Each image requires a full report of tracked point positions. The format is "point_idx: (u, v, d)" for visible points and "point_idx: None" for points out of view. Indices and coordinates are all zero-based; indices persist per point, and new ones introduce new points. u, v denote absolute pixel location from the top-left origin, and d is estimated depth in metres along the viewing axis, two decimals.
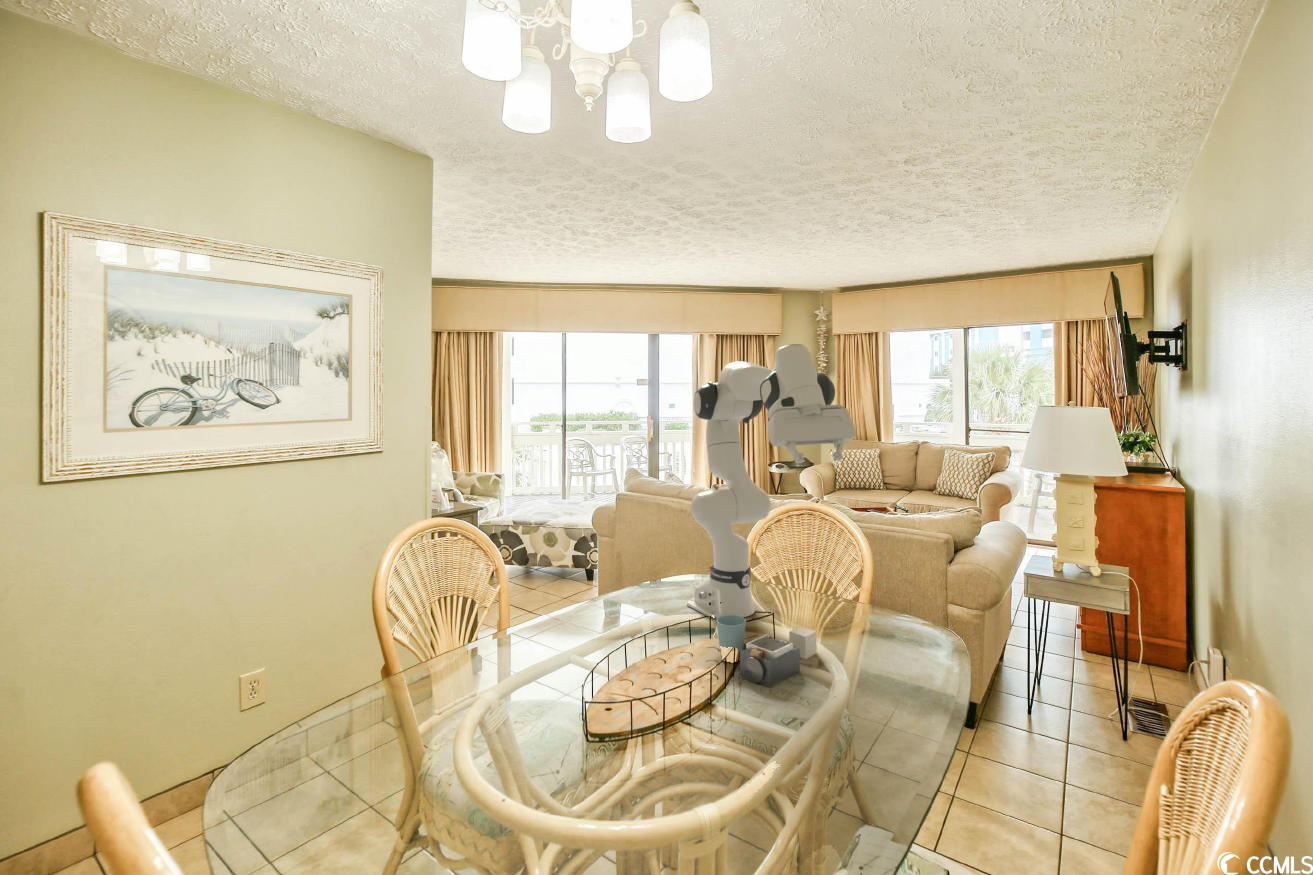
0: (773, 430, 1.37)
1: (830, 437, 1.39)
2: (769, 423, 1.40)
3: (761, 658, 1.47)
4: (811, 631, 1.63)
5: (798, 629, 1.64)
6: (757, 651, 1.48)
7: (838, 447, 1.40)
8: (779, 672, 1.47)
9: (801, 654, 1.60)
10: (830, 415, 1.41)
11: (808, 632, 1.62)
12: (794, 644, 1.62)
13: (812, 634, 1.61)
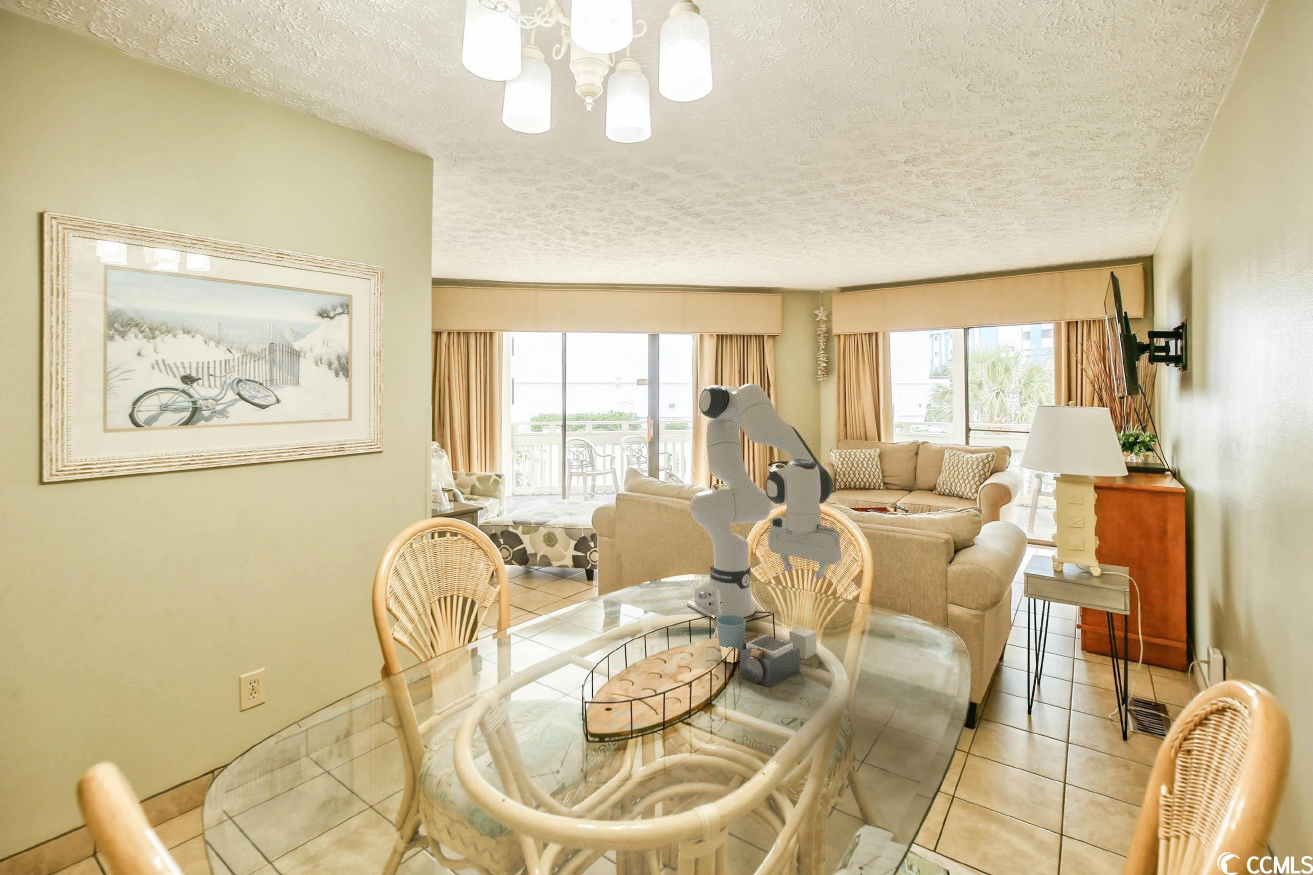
0: None
1: (810, 559, 1.57)
2: None
3: (761, 658, 1.47)
4: (811, 631, 1.62)
5: (799, 629, 1.64)
6: (757, 651, 1.48)
7: None
8: (779, 672, 1.47)
9: (801, 654, 1.60)
10: (815, 539, 1.56)
11: (808, 632, 1.62)
12: (794, 644, 1.62)
13: (812, 634, 1.61)
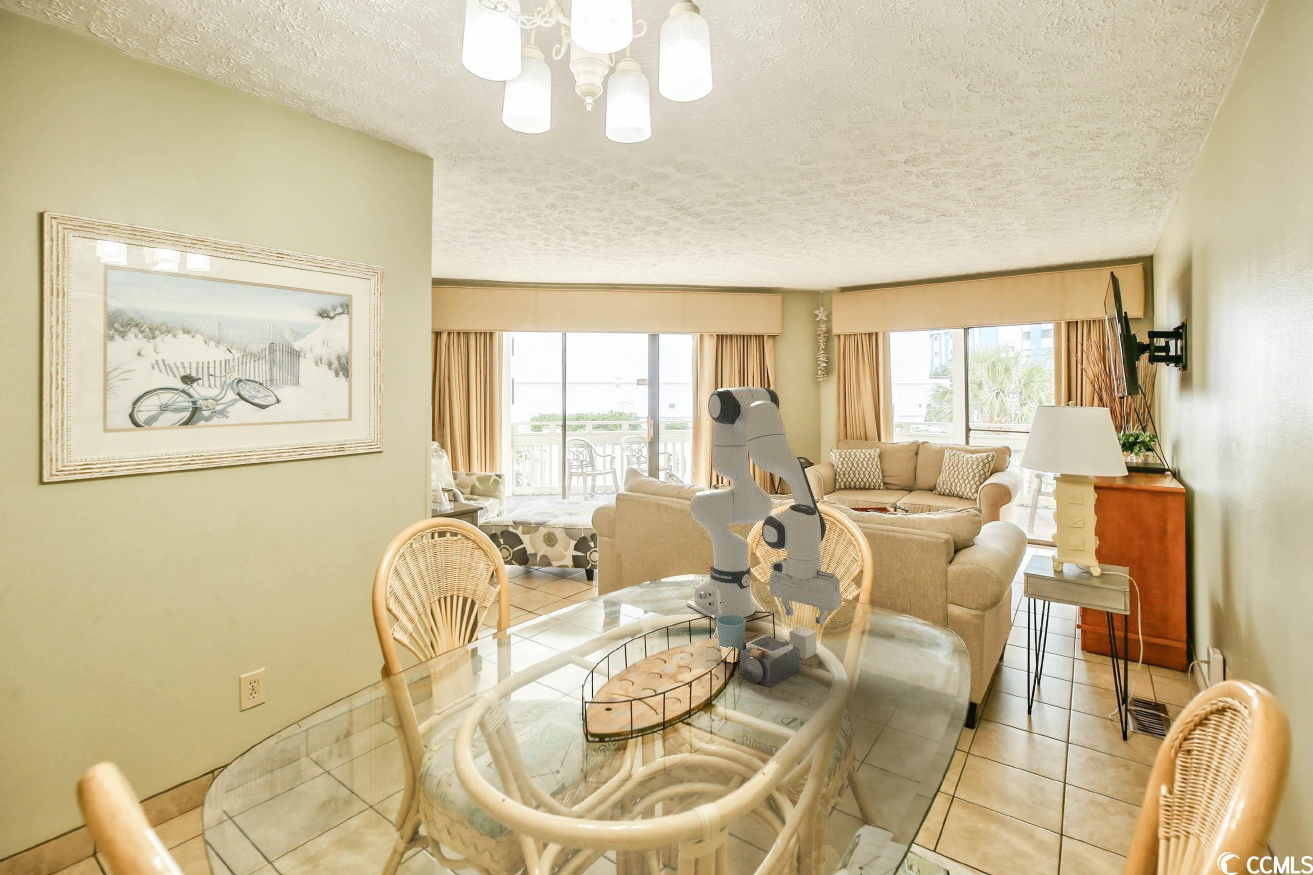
0: None
1: (811, 605, 1.58)
2: None
3: (761, 658, 1.47)
4: (811, 631, 1.62)
5: (798, 629, 1.64)
6: (757, 651, 1.48)
7: None
8: (779, 672, 1.47)
9: (801, 654, 1.60)
10: (815, 585, 1.57)
11: (808, 632, 1.62)
12: (794, 644, 1.62)
13: (812, 634, 1.61)
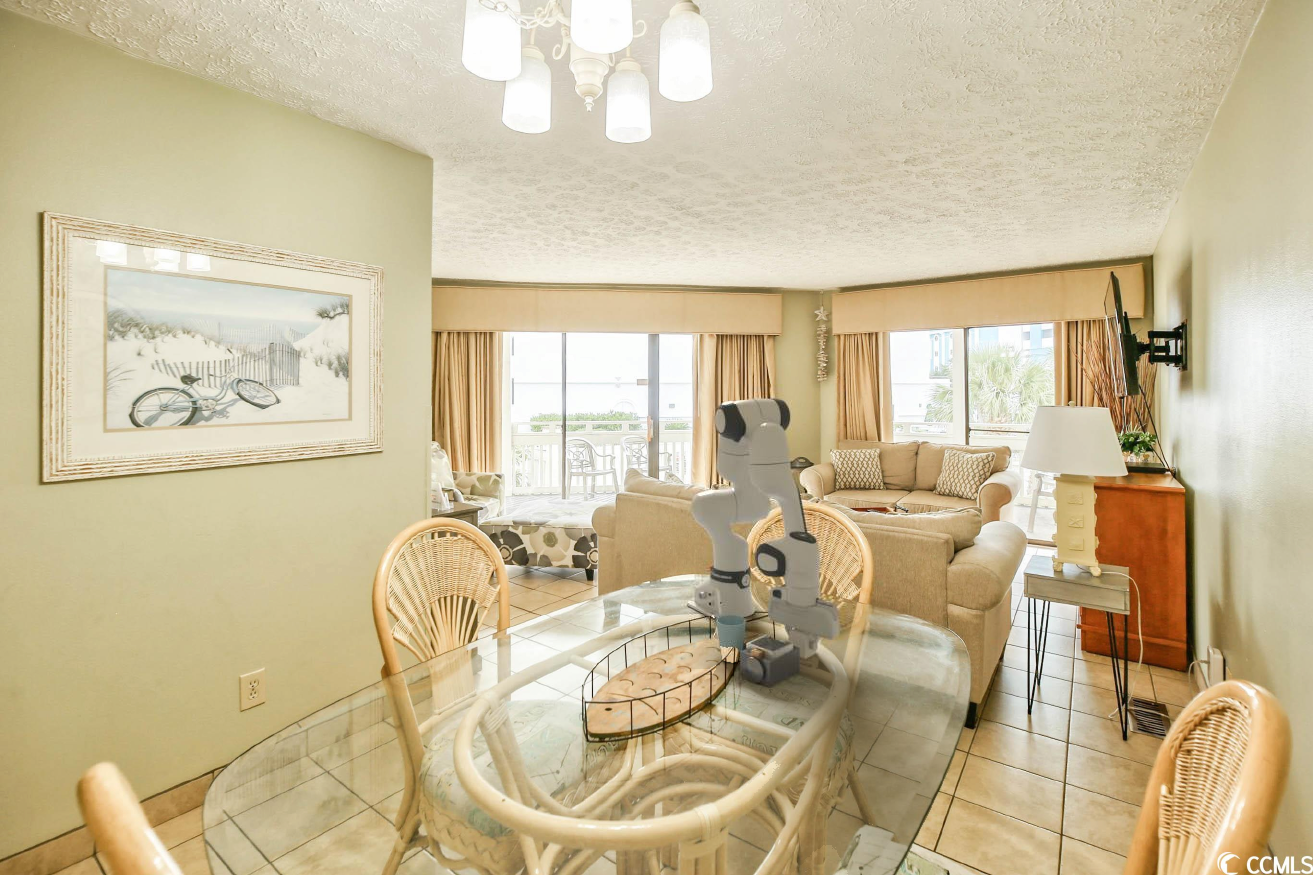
0: None
1: (809, 632, 1.59)
2: None
3: (761, 658, 1.47)
4: None
5: (798, 629, 1.64)
6: (757, 651, 1.48)
7: None
8: (779, 672, 1.47)
9: (801, 654, 1.60)
10: (814, 613, 1.58)
11: None
12: (794, 644, 1.62)
13: None
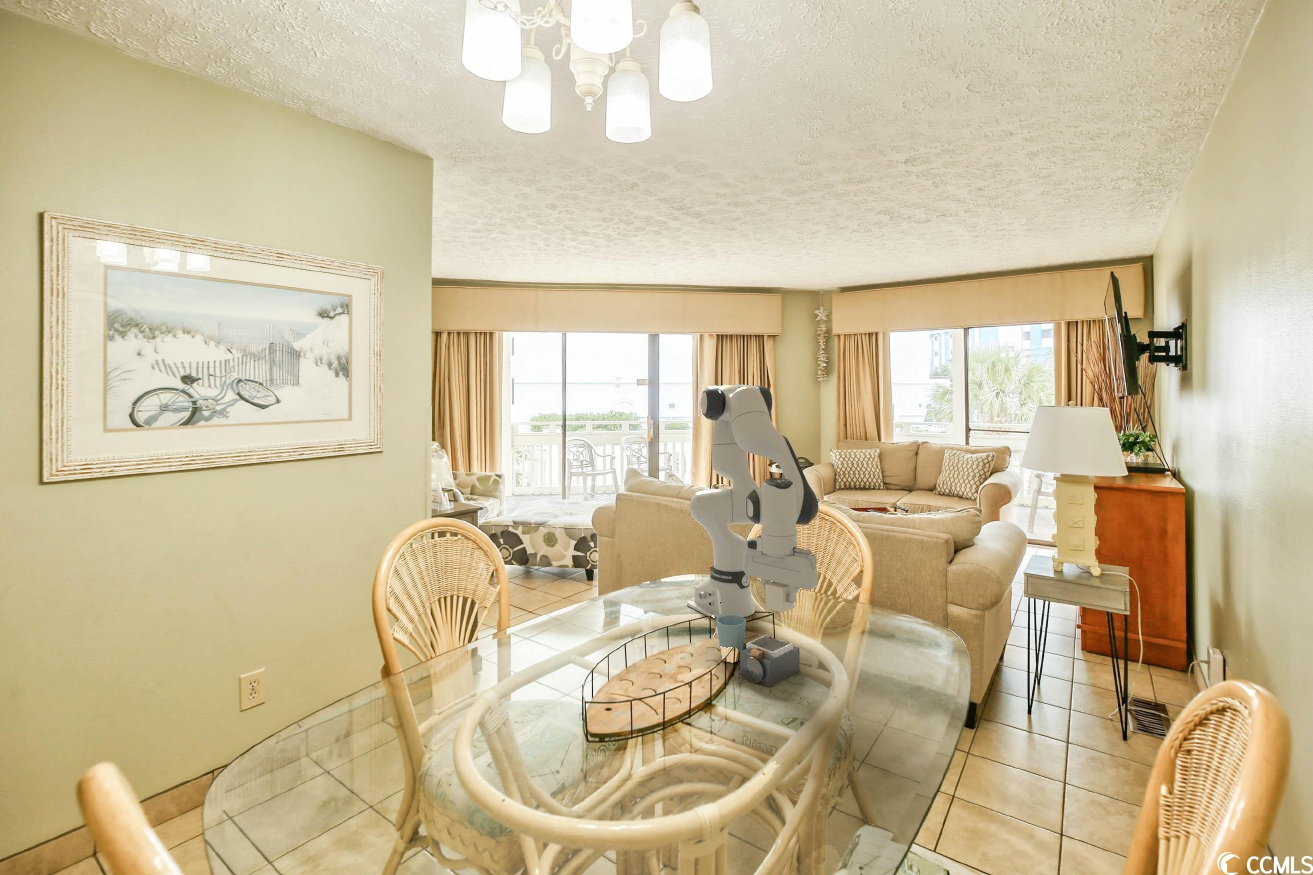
0: None
1: (786, 584, 1.49)
2: None
3: (761, 658, 1.47)
4: None
5: (775, 582, 1.54)
6: (757, 651, 1.48)
7: None
8: (779, 672, 1.47)
9: (778, 607, 1.50)
10: (791, 562, 1.48)
11: (785, 585, 1.52)
12: (770, 597, 1.52)
13: (789, 586, 1.51)
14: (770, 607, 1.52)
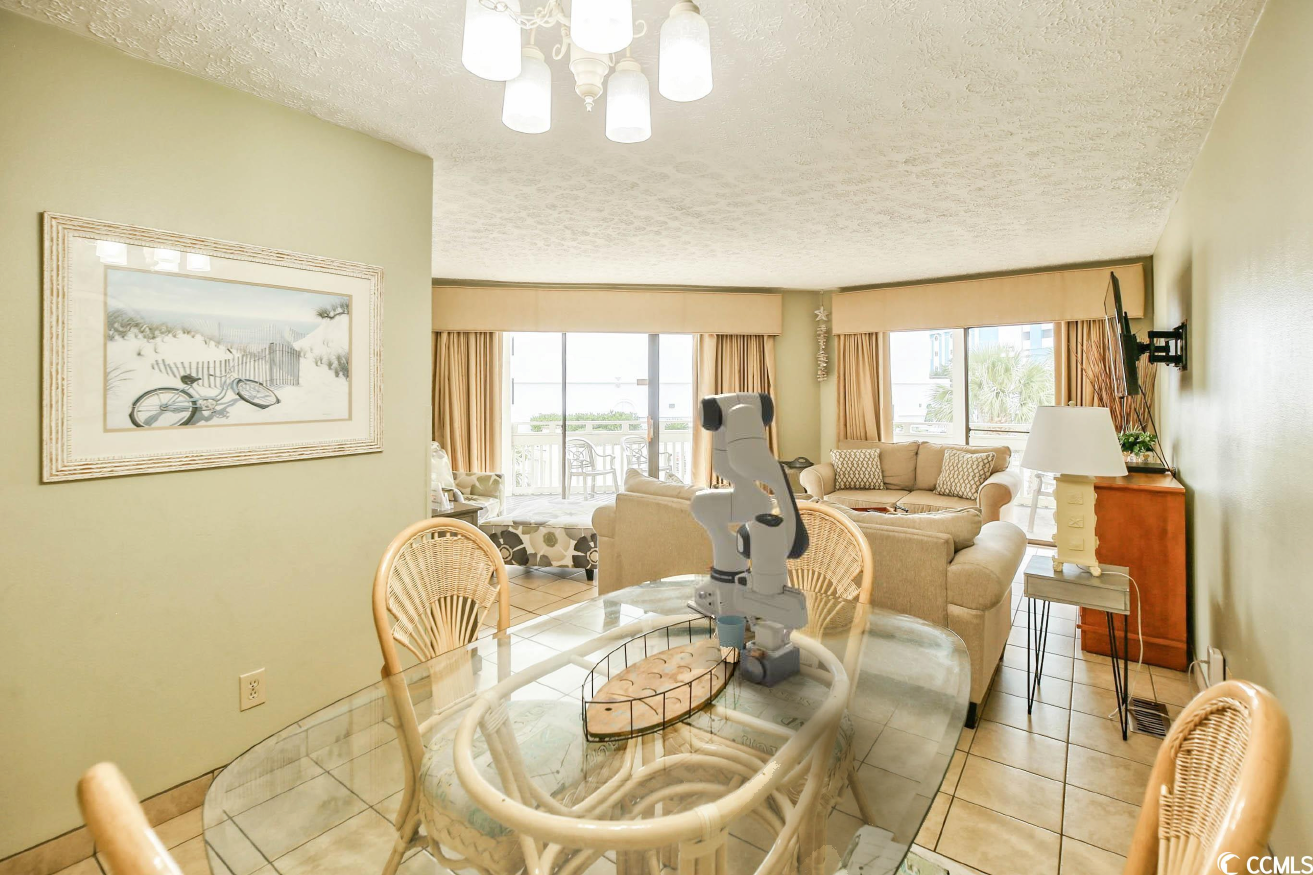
0: None
1: (776, 622, 1.47)
2: None
3: (761, 658, 1.47)
4: (778, 625, 1.51)
5: (765, 623, 1.52)
6: (757, 651, 1.48)
7: None
8: (779, 672, 1.47)
9: None
10: (781, 601, 1.46)
11: (775, 627, 1.50)
12: (760, 639, 1.50)
13: (779, 628, 1.50)
14: None
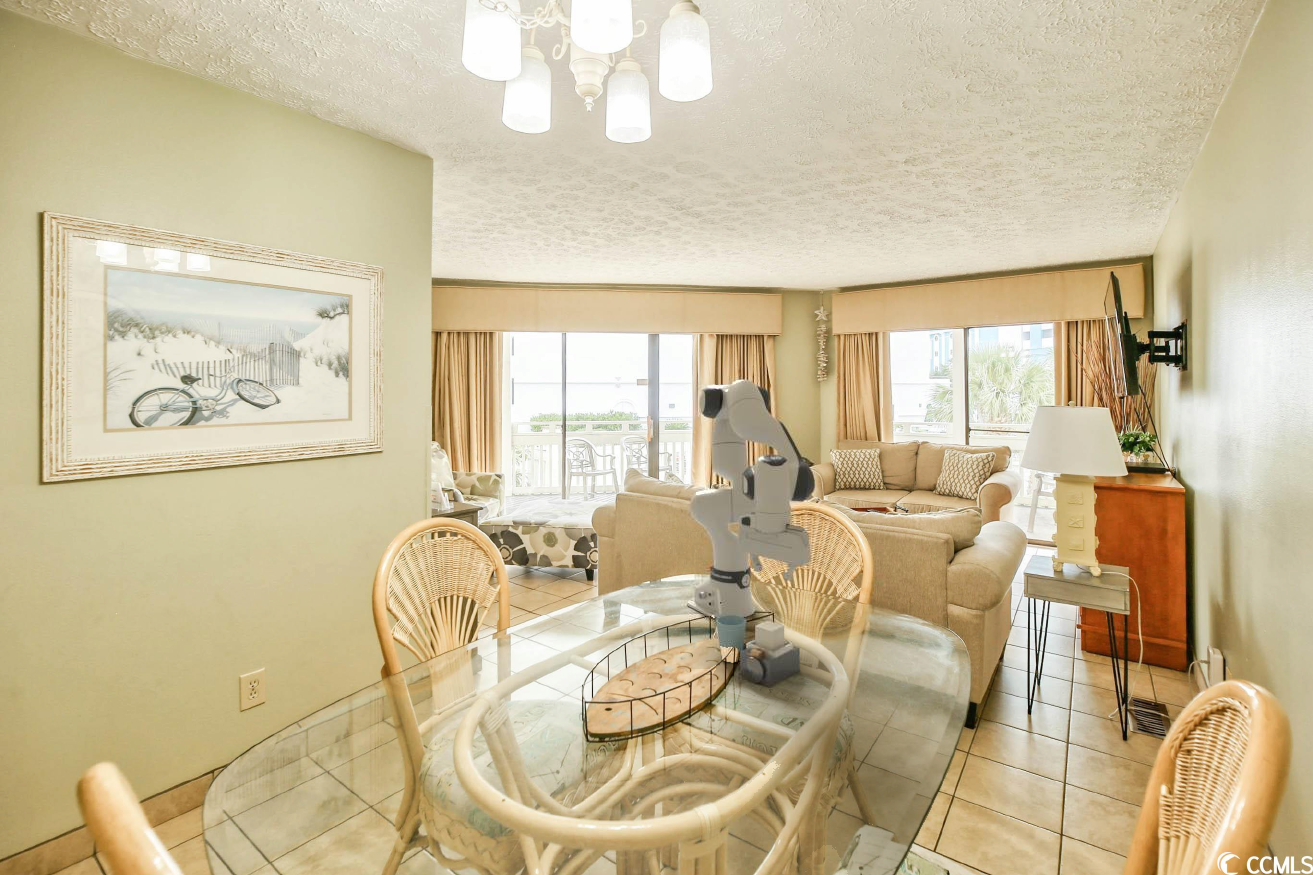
0: None
1: (779, 560, 1.50)
2: None
3: (761, 658, 1.47)
4: (778, 625, 1.51)
5: (765, 623, 1.52)
6: (757, 651, 1.48)
7: None
8: (779, 672, 1.47)
9: None
10: (784, 539, 1.48)
11: (775, 627, 1.50)
12: (760, 639, 1.50)
13: (779, 628, 1.50)
14: None
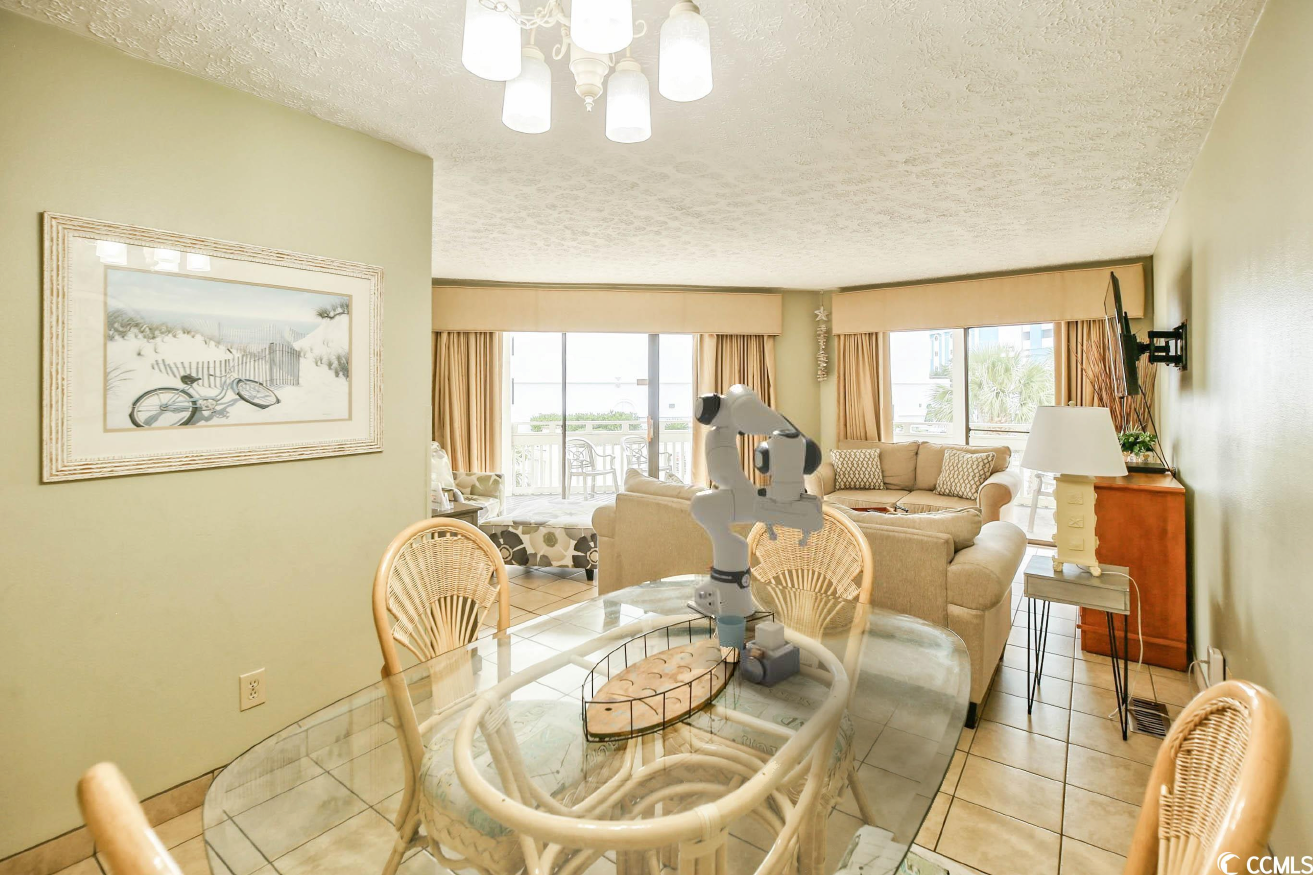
0: None
1: (794, 527, 1.59)
2: None
3: (761, 658, 1.47)
4: (778, 625, 1.51)
5: (765, 623, 1.52)
6: (757, 651, 1.48)
7: None
8: (779, 672, 1.47)
9: None
10: (798, 507, 1.58)
11: (775, 627, 1.50)
12: (760, 639, 1.50)
13: (779, 628, 1.50)
14: None
